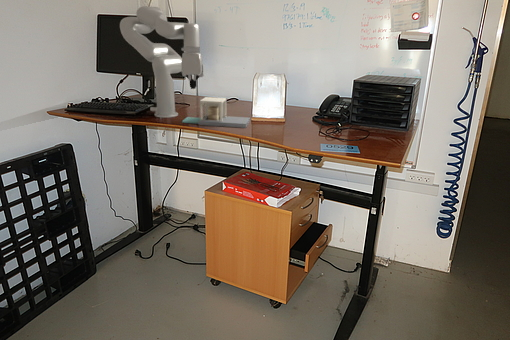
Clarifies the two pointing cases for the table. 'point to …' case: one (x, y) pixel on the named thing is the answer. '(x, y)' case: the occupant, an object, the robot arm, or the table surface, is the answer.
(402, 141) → the table surface
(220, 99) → the sliding cover
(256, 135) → the table surface
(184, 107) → the table surface
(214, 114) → the maple block
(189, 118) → the teal mat
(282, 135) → the table surface
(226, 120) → the puzzle board
